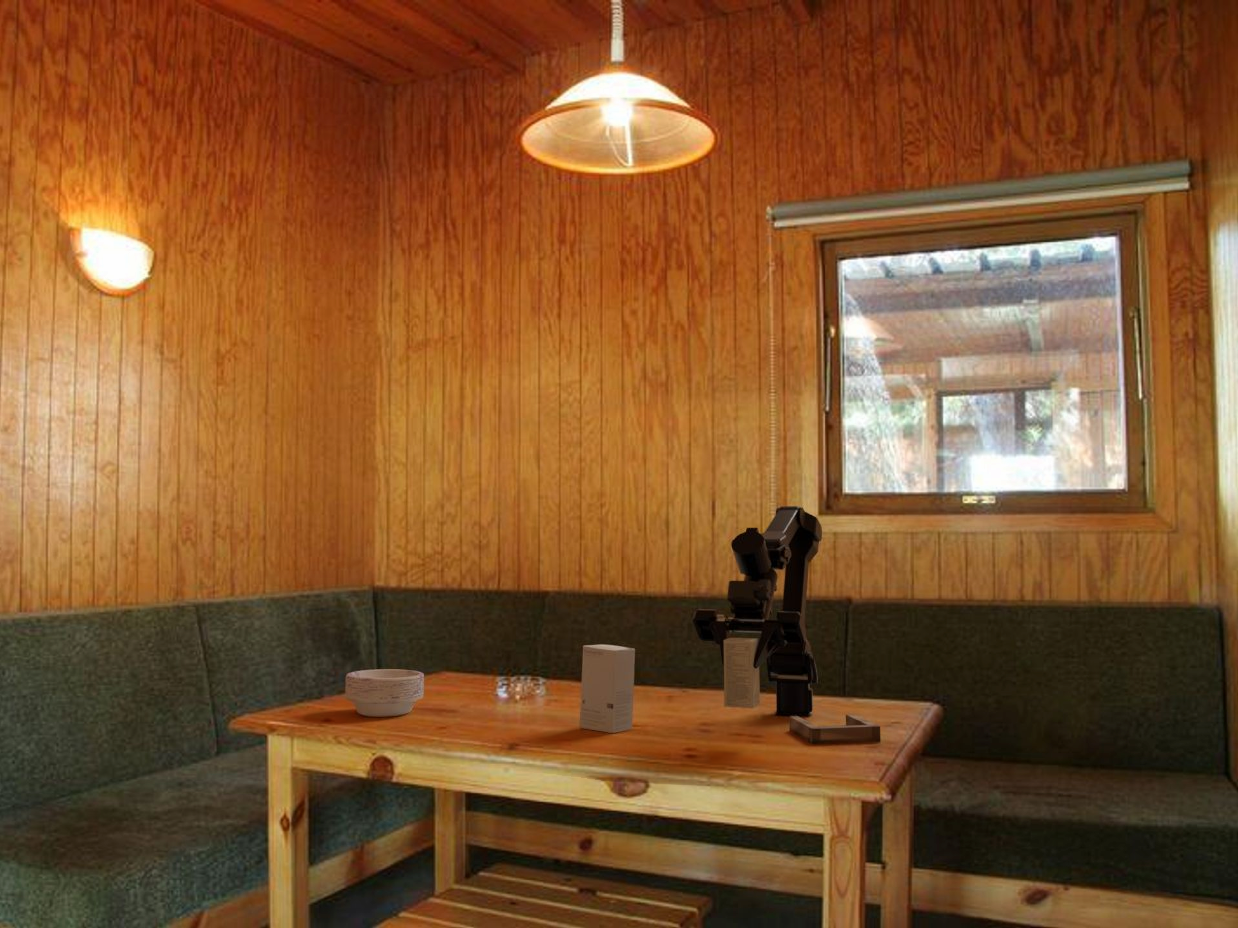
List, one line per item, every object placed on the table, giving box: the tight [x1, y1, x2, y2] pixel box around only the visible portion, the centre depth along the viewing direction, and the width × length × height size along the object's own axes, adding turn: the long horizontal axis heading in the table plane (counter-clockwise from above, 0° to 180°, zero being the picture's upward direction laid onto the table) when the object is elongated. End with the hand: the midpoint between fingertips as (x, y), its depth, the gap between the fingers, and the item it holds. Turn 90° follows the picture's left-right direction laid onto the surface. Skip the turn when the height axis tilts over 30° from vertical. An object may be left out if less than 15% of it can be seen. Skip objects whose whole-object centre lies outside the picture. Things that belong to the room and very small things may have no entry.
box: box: [723, 637, 761, 709], centre depth 173 cm, size 5×4×11 cm
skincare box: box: [579, 644, 636, 734], centre depth 189 cm, size 8×6×15 cm
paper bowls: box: [344, 668, 425, 718], centre depth 206 cm, size 15×15×8 cm
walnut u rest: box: [788, 713, 882, 745], centre depth 181 cm, size 12×12×2 cm
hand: (739, 666), depth 172 cm, fingers closed on box, 5 cm apart
